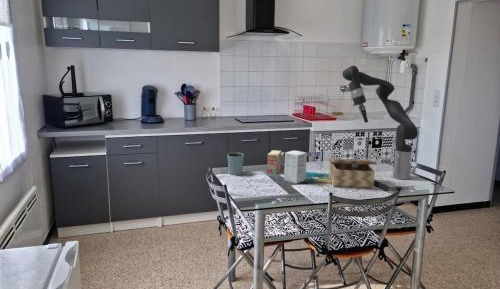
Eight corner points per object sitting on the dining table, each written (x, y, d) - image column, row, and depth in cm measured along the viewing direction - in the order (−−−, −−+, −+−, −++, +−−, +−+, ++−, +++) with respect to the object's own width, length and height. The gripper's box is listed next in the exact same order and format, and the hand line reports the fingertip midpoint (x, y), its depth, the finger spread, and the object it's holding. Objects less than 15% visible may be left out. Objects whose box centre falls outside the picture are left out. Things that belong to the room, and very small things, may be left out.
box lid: (367, 165, 227) (367, 160, 227) (376, 167, 208) (376, 161, 208) (328, 163, 229) (329, 158, 229) (334, 165, 209) (334, 160, 209)
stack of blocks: (274, 164, 256) (275, 147, 253) (283, 165, 254) (284, 147, 251) (266, 173, 236) (267, 154, 233) (276, 174, 234) (277, 155, 231)
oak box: (365, 179, 229) (366, 163, 227) (372, 188, 211) (374, 171, 209) (328, 177, 230) (329, 161, 228) (333, 186, 213) (334, 169, 211)
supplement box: (306, 180, 223) (307, 152, 219) (296, 183, 216) (298, 155, 213) (292, 176, 229) (294, 149, 226) (283, 180, 223) (284, 152, 219)
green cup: (244, 171, 237) (244, 153, 234) (242, 176, 227) (242, 156, 225) (228, 170, 238) (228, 152, 235) (225, 175, 228) (225, 156, 226)
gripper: (352, 100, 250) (360, 125, 248) (352, 96, 238) (361, 123, 236) (363, 96, 249) (371, 121, 247) (364, 93, 236) (373, 119, 234)
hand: (366, 122), depth 241 cm, fingers closed
